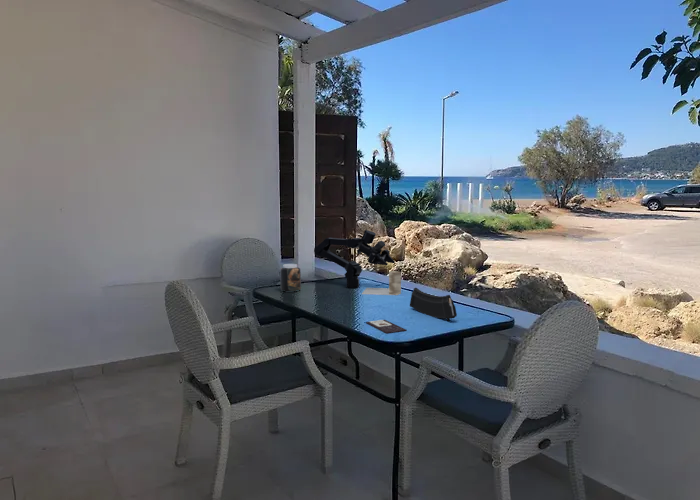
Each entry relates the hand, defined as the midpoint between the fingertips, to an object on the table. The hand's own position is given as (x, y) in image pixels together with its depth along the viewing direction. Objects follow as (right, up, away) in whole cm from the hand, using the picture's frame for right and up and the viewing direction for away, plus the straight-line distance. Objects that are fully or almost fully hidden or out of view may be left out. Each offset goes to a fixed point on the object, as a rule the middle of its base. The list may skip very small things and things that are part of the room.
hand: (391, 263), depth 275 cm
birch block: (+1, -16, -9) cm, 19 cm away
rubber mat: (-5, -16, -1) cm, 17 cm away
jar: (-57, -16, +6) cm, 59 cm away
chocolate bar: (-8, -24, -74) cm, 78 cm away
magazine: (+14, -22, -55) cm, 61 cm away
